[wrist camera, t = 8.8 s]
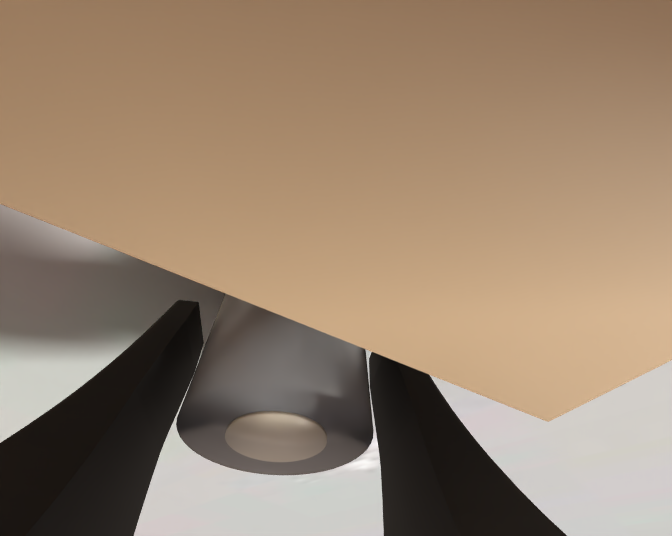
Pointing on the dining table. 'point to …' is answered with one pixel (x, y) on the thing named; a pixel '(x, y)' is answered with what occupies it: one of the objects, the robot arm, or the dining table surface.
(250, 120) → the box lid
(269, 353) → the dimpled grey cylinder
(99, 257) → the dining table surface
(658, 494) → the dining table surface
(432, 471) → the robot arm
